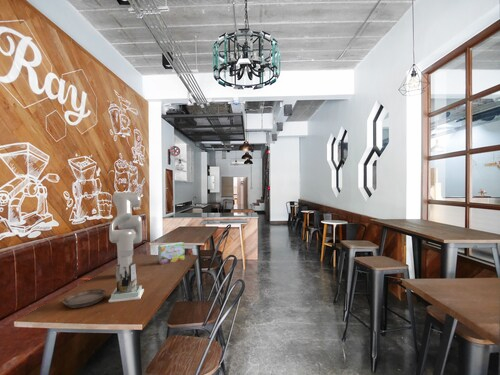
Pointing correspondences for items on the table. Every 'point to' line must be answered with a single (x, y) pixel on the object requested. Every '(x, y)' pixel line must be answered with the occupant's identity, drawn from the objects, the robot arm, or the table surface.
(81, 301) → the plant saucer
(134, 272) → the coffee box
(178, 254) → the snack box
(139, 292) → the stand
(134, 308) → the table surface
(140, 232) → the robot arm
